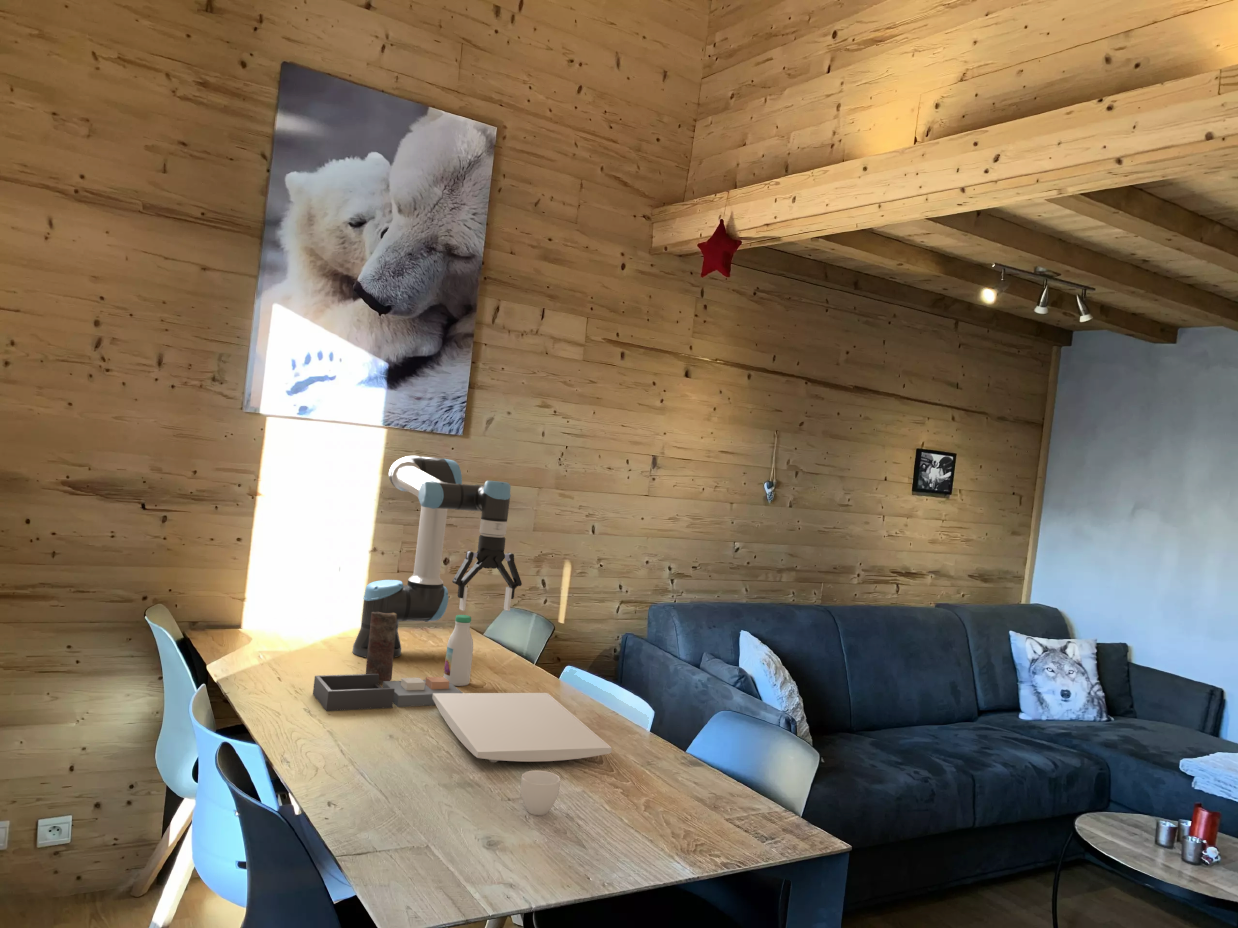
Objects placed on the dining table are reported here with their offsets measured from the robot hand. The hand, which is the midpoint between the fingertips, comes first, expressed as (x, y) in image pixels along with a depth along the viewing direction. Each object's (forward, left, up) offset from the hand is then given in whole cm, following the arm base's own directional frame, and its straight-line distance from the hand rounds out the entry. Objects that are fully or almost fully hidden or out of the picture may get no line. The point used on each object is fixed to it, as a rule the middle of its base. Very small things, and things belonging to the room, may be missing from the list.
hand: (484, 610), depth 255 cm
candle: (-18, -23, -25) cm, 38 cm away
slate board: (0, -16, -24) cm, 29 cm away
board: (+35, -4, -25) cm, 43 cm away
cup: (+77, -19, -25) cm, 83 cm away
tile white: (0, -19, -21) cm, 28 cm away
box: (0, -35, -24) cm, 42 cm away
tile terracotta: (0, -12, -21) cm, 24 cm away
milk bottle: (-13, -1, -25) cm, 28 cm away
